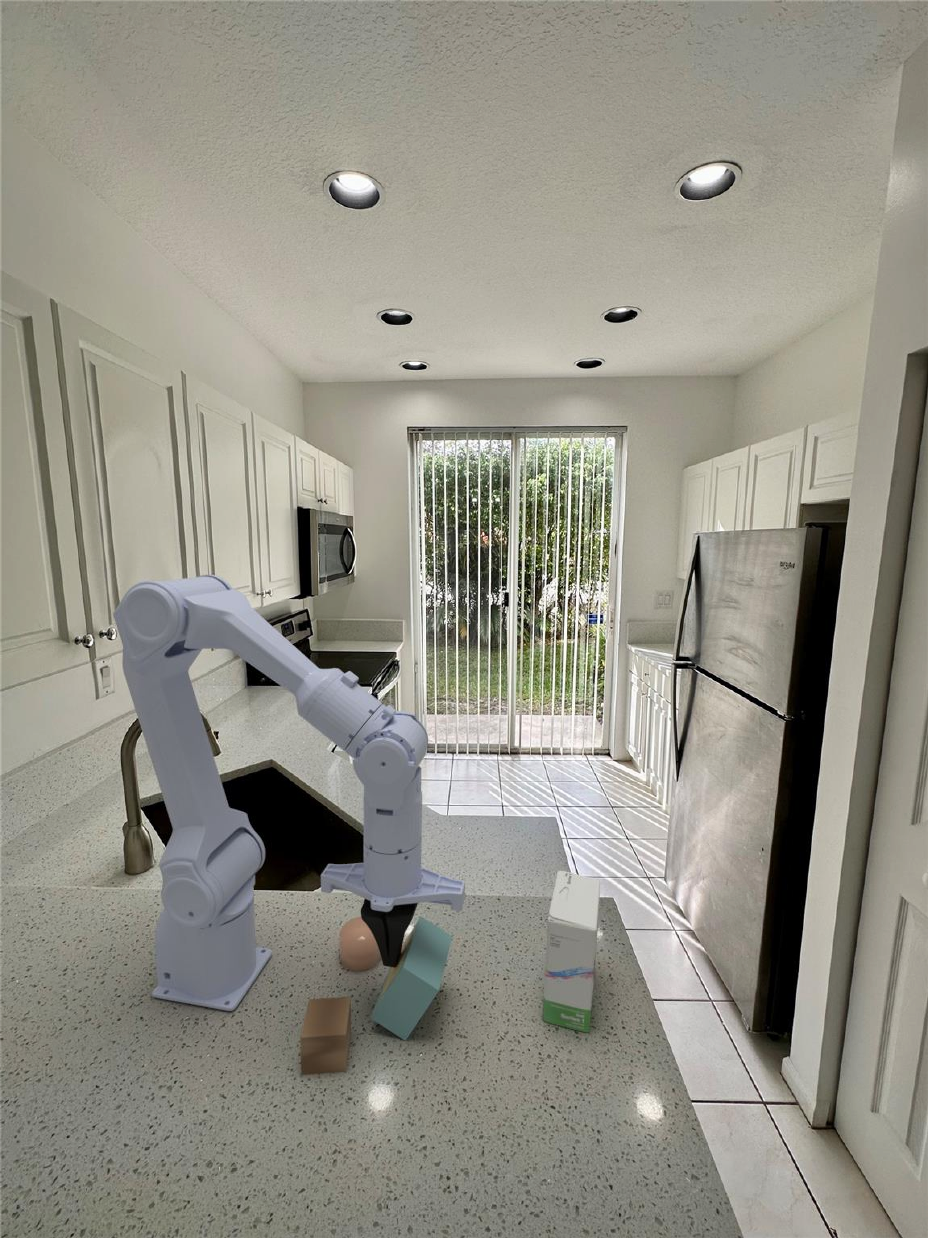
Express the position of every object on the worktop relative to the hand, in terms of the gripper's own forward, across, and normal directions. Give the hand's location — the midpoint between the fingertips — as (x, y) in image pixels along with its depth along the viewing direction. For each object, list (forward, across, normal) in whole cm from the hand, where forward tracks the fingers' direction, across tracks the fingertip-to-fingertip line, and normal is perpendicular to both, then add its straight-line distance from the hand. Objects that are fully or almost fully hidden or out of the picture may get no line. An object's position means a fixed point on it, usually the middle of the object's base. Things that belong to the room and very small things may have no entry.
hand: (392, 959), depth 54 cm
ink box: (+6, +18, +5) cm, 20 cm away
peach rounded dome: (+6, -6, +6) cm, 10 cm away
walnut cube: (+6, -4, -6) cm, 9 cm away
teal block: (+5, +1, 0) cm, 5 cm away
